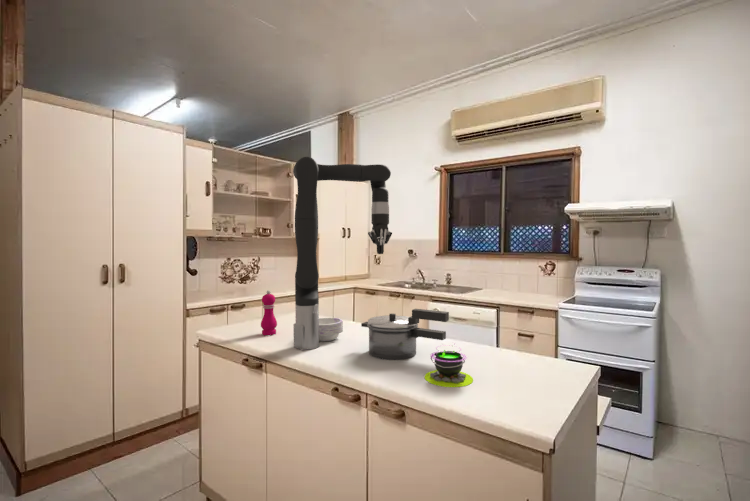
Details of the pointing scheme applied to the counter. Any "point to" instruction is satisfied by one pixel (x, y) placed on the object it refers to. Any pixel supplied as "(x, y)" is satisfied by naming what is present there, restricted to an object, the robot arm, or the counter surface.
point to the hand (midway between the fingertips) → (380, 253)
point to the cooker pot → (398, 341)
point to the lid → (407, 319)
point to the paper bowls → (329, 328)
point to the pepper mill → (268, 315)
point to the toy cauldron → (448, 370)
